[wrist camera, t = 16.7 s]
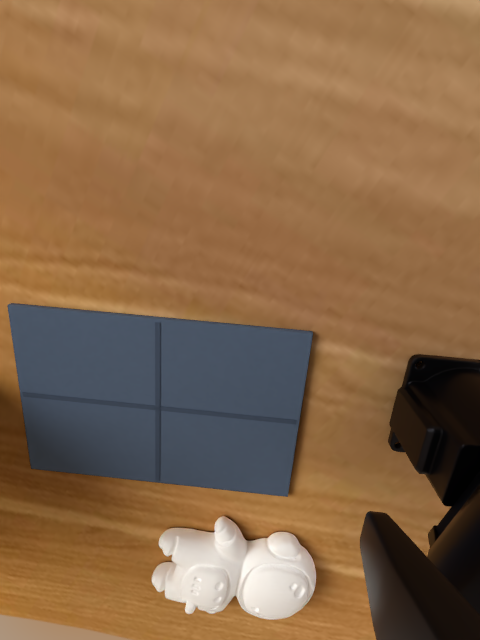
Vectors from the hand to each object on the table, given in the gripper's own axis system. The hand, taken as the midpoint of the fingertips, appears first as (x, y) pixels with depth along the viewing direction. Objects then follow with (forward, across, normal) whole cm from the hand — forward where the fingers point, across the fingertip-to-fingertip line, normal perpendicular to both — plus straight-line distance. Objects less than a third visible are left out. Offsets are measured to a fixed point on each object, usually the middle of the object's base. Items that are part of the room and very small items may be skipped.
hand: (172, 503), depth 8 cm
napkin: (+13, +4, +6) cm, 15 cm away
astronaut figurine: (+13, -2, +19) cm, 23 cm away
